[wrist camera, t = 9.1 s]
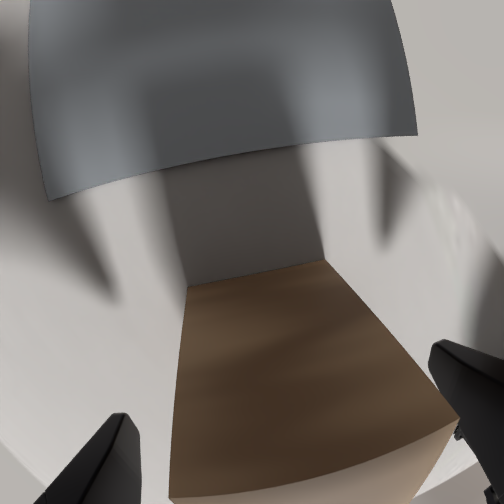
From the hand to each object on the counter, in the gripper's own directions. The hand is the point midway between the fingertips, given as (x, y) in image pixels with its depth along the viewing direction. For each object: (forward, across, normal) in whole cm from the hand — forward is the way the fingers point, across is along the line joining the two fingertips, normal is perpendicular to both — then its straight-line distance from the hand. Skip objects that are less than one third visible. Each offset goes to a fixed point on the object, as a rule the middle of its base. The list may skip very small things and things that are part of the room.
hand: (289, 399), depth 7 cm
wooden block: (+3, 0, 0) cm, 3 cm away
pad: (+3, 0, -11) cm, 11 cm away
